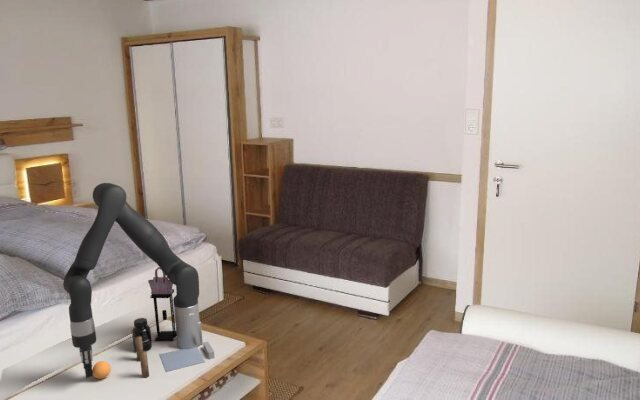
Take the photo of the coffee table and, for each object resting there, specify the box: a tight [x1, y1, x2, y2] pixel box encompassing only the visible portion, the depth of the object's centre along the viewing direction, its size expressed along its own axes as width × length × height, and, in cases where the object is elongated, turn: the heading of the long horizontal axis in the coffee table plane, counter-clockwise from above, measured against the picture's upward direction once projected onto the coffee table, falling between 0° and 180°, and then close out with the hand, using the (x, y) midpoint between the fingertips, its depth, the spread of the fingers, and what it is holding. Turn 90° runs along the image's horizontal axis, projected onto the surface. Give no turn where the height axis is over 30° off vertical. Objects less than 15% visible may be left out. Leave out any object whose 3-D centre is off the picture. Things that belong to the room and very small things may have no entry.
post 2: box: [140, 351, 150, 379], centre depth 184 cm, size 2×2×9 cm
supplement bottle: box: [131, 317, 153, 352], centre depth 203 cm, size 7×7×12 cm
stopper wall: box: [202, 341, 215, 360], centre depth 200 cm, size 2×9×2 cm, turn 26°
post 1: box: [135, 336, 143, 363], centre depth 195 cm, size 2×2×9 cm
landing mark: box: [159, 347, 206, 373], centre depth 197 cm, size 14×14×1 cm
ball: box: [92, 360, 112, 380], centre depth 184 cm, size 6×6×6 cm
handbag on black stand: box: [147, 266, 177, 342], centre depth 211 cm, size 10×8×30 cm
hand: (89, 376), depth 183 cm, fingers closed
